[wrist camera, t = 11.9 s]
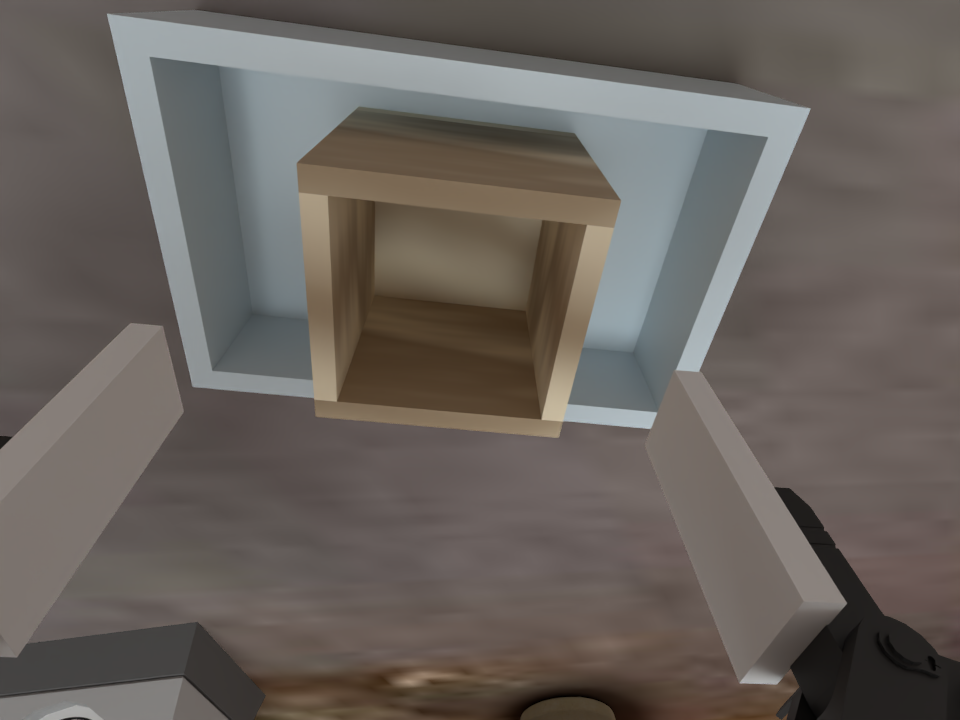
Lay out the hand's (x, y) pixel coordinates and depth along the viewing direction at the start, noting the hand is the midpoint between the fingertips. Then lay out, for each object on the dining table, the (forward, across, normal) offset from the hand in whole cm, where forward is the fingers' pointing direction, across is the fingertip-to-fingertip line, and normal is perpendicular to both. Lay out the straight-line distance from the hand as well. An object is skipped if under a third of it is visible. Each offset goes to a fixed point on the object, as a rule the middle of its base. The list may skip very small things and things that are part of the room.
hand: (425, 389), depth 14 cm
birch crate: (+13, -1, 0) cm, 13 cm away
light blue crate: (+14, -1, 0) cm, 14 cm away
